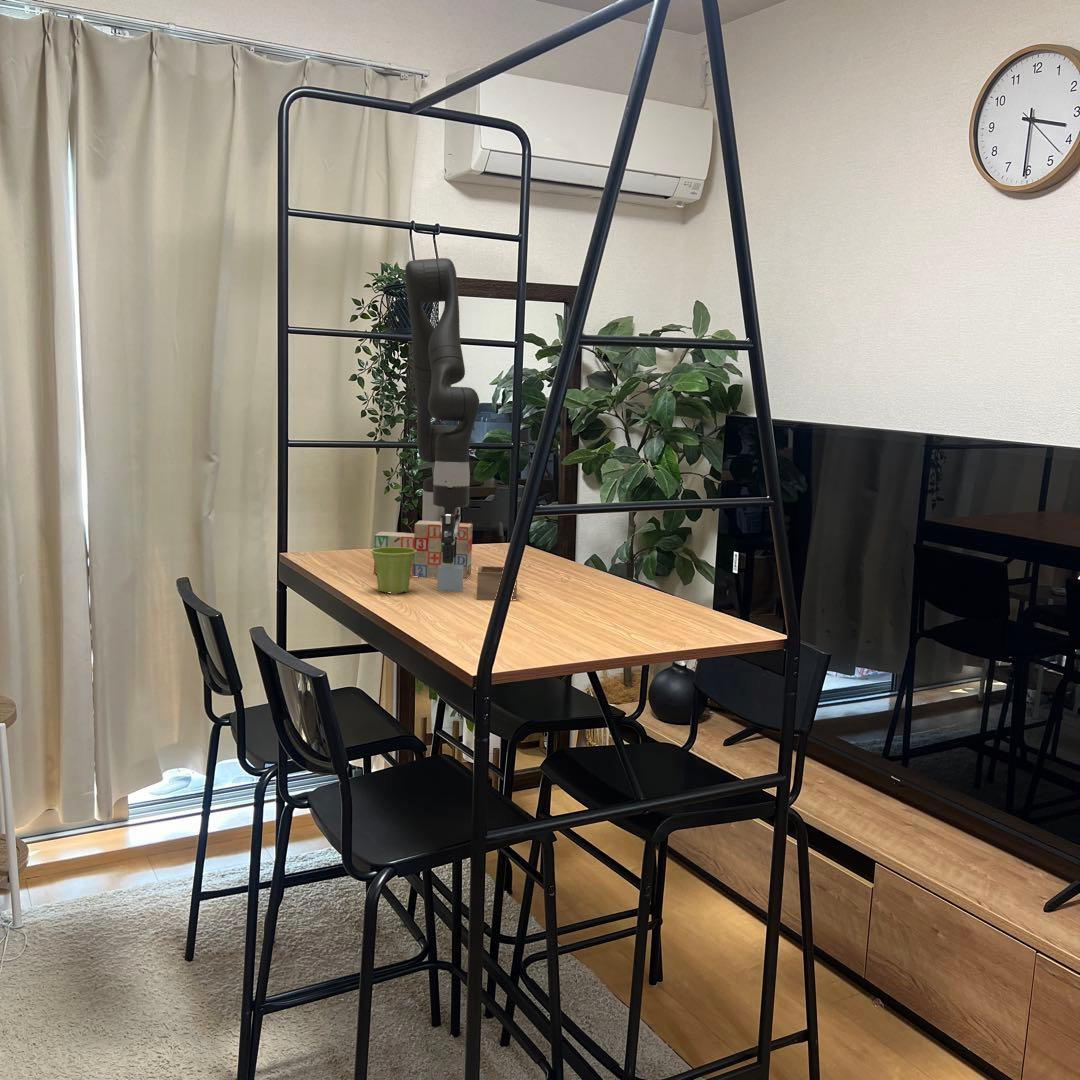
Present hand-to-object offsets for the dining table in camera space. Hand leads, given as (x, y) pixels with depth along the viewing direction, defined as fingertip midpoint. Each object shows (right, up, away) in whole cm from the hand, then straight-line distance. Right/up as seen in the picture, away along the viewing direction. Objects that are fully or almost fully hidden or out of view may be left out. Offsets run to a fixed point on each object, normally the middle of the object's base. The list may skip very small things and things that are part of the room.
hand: (449, 560), depth 221 cm
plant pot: (-11, -7, -3) cm, 14 cm away
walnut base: (+10, -7, -4) cm, 13 cm away
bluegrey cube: (0, -6, +1) cm, 6 cm away
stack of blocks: (-8, -4, +17) cm, 19 cm away
